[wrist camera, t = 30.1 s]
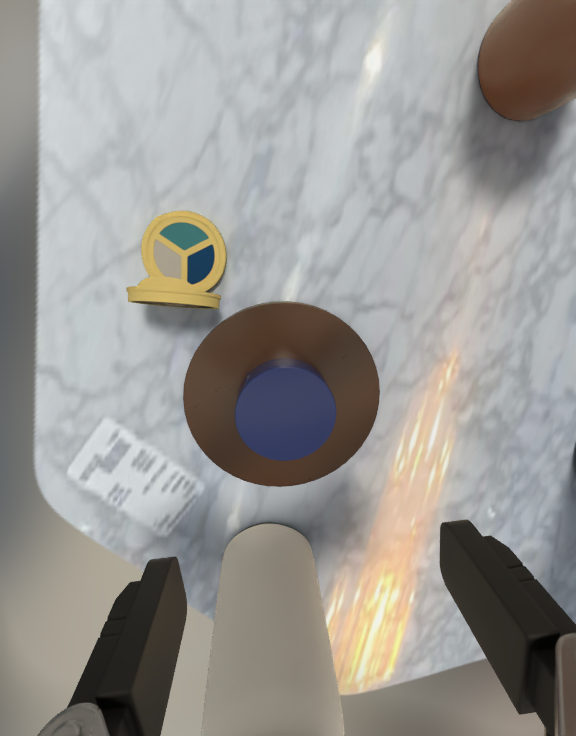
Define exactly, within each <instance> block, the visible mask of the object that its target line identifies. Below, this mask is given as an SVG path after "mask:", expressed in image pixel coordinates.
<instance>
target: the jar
mask: <svg viewBox="0 0 576 736" xmlns="http://www.w3.org/2000/svg"><path fill="white" fill-rule="evenodd" d="M478 72H479V81H480V85H481V89H482V91H483V94H484V96H485V98H486V100H487V102H488V103H489V104H490V106H491V107H492V108H493V109H494V110H495V111H496V112H497V113H499V114H500V115H502V116H504V117H505V118H508V119H511V120H517V121H526V120H532V119H535V118H538V117H540V116H542V115H545V114H546V113H548V112H550V111H552V110H554V109H556V108H558V107H560V106H562V105H564V104H566V103H568V102H570V101H572V100H574V99H576V0H511V1H510V2H509V3H508V5H507V6H506V7H505V8H504V9H503V10H502V11H501V12H500V13H499V14H498V15H497V16H496V18H495V19H494V20H493V22H492V23H491V25H490V27H489V29H488V30H487V33H486V35H485V37H484V40H483V43H482V46H481V50H480V55H479V63H478Z"/></svg>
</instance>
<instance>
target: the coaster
mask: <svg viewBox="0 0 576 736" xmlns="http://www.w3.org/2000/svg"><path fill="white" fill-rule="evenodd" d="M280 358H289V359H296V360H300V361H302V362H305V363H307V364H309V365H310V366H312V367H313V368H315V369H316V370H317V371H318V372H319V373H320V374H321V375H322V377H323V378H324V380H325V381H326V383H327V385H328V387H329V389H330V391H331V392H332V394H333V397H334V400H335V404H336V420H335V425H334V428H333V430H332V432H331V434H330V436H329V437H328V439H327V440H326V442H325V443H324V444H323V445H322V446H321V447H320V448H319V449H317V450H316V451H314V452H313V453H311V454H309V455H308V456H305V457H303V458H300V459H296V460H289V461H279V460H273V459H269V458H266V457H263V456H261V455H259V454H257V453H256V452H254V451H253V450H252V449H250V448H249V447H248V446H247V445H246V444H245V442H244V441H243V440H242V438H241V437H240V435H239V433H238V430H237V427H236V423H235V407H236V401H237V395H238V391H239V388H240V386H241V384H242V382H243V380H244V379H245V378H246V375H247V373H248V374H249V373H250V372H251V371H252V370H253V369H255V368H256V367H257V366H259V365H261V364H263V363H265V362H267V361H270V360H274V359H280ZM379 393H380V390H379V379H378V374H377V370H376V366H375V363H374V361H373V358H372V356H371V354H370V352H369V350H368V348H367V346H366V345H365V343H364V342H363V341H362V339H361V338H360V337H359V335H358V334H357V333H356V332H355V331H354V330H353V329H352V328H351V327H350V326H348V325H347V324H346V323H345V322H343V321H342V320H341V319H339V318H338V317H336V316H334V315H333V314H331V313H329V312H327V311H325V310H323V309H320V308H318V307H315V306H312V305H308V304H304V303H298V302H289V301H281V302H269V303H262V304H258V305H255V306H252V307H248V308H246V309H243V310H241V311H239V312H237V313H235V314H233V315H232V316H230V317H228V318H227V319H225V320H224V321H222V322H221V323H220V324H219V325H218V326H216V327H215V328H214V329H213V330H212V331H211V332H210V333H209V334H208V335H207V336H206V338H205V339H204V340H203V342H202V343H201V344H200V346H199V347H198V349H197V350H196V352H195V354H194V356H193V358H192V360H191V362H190V365H189V368H188V371H187V374H186V378H185V383H184V396H183V401H184V410H185V415H186V419H187V423H188V426H189V428H190V431H191V433H192V435H193V437H194V439H195V440H196V442H197V444H198V445H199V447H200V448H201V449H202V451H203V452H204V453H205V454H206V455H207V456H208V457H209V458H210V459H211V460H212V461H213V462H214V463H215V464H216V465H217V466H219V467H220V468H221V469H223V470H224V471H226V472H228V473H229V474H231V475H233V476H235V477H237V478H240V479H242V480H244V481H247V482H251V483H254V484H259V485H265V486H277V487H281V486H293V485H299V484H304V483H308V482H311V481H314V480H317V479H319V478H321V477H324V476H326V475H328V474H329V473H331V472H333V471H335V470H336V469H338V468H339V467H340V466H342V465H343V464H345V463H346V462H347V461H348V460H349V459H350V458H351V457H352V456H353V455H354V454H355V453H356V452H357V451H358V449H359V448H360V447H361V446H362V444H363V443H364V441H365V440H366V438H367V437H368V435H369V433H370V431H371V429H372V427H373V424H374V421H375V418H376V415H377V410H378V405H379Z"/></svg>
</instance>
